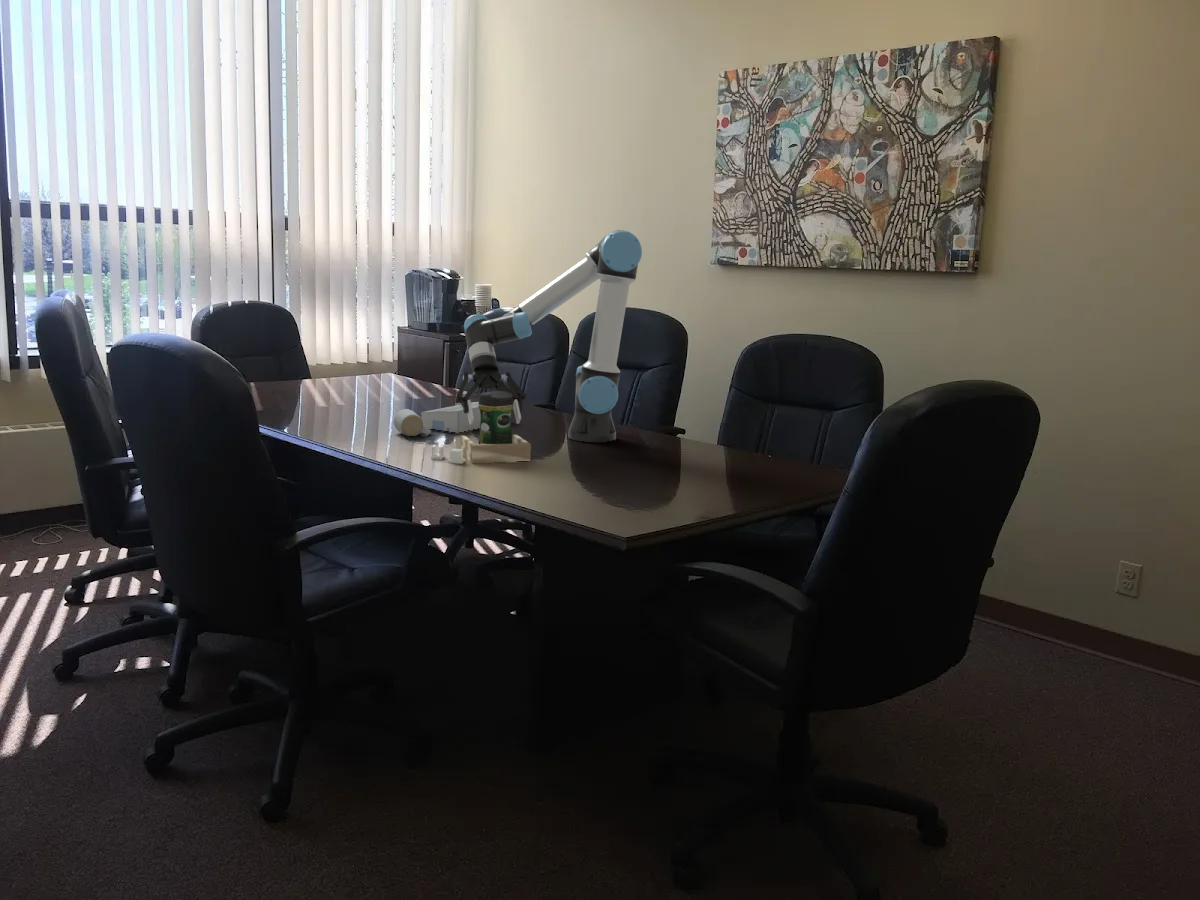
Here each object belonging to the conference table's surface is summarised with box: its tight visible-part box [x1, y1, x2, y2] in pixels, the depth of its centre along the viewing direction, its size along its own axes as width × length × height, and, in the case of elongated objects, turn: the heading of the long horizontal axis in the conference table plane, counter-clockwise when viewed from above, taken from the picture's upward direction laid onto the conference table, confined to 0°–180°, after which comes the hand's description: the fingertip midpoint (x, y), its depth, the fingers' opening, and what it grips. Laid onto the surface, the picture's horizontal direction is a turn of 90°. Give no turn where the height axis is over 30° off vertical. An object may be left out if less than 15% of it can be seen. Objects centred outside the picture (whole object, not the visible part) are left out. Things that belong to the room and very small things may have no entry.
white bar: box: [420, 401, 481, 434], centre depth 321 cm, size 30×14×8 cm, turn 154°
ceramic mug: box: [393, 408, 432, 437], centre depth 298 cm, size 11×8×8 cm
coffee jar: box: [477, 390, 514, 444], centre depth 270 cm, size 10×8×19 cm
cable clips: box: [430, 444, 466, 465], centre depth 264 cm, size 5×12×3 cm, turn 57°
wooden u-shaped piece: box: [460, 434, 532, 464], centre depth 270 cm, size 15×16×5 cm
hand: (495, 421), depth 269 cm, fingers open, 13 cm apart
